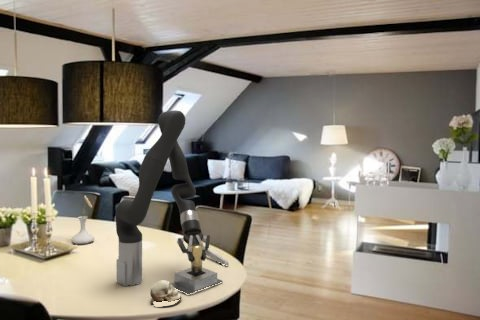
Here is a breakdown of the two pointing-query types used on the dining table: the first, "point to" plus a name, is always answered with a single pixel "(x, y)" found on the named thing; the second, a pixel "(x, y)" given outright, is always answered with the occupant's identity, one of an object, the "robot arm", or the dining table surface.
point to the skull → (164, 292)
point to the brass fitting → (196, 258)
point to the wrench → (216, 257)
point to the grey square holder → (194, 280)
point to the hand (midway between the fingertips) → (198, 260)
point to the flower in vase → (83, 228)
